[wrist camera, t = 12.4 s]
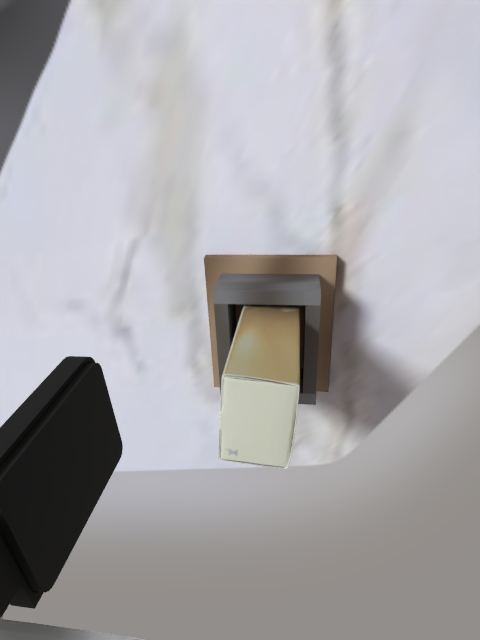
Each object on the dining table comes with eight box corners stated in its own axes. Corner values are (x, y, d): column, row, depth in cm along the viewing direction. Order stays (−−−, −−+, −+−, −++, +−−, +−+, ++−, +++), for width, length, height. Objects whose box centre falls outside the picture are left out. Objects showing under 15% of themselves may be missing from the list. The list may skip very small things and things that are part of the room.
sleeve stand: (336, 254, 32) (341, 274, 28) (327, 386, 37) (330, 418, 33) (206, 254, 33) (193, 273, 29) (215, 381, 38) (206, 411, 35)
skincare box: (292, 363, 36) (289, 475, 25) (241, 357, 36) (216, 465, 25) (301, 293, 33) (303, 385, 22) (246, 288, 33) (220, 375, 22)
